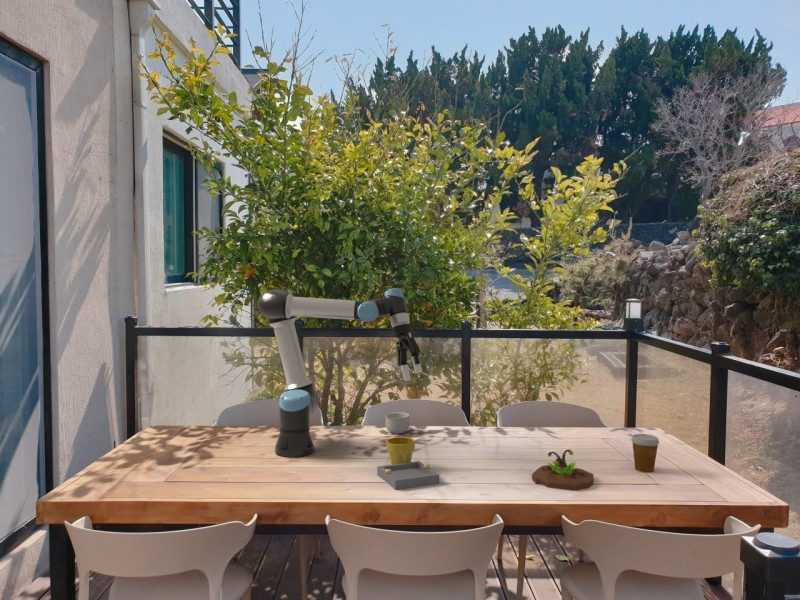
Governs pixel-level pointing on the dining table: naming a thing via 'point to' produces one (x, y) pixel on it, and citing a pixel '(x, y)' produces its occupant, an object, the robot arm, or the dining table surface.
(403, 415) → the teacup
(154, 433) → the dining table surface
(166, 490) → the dining table surface
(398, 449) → the plant pot
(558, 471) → the plant
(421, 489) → the dining table surface
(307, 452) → the robot arm
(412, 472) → the base
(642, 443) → the disposable coffee cup
